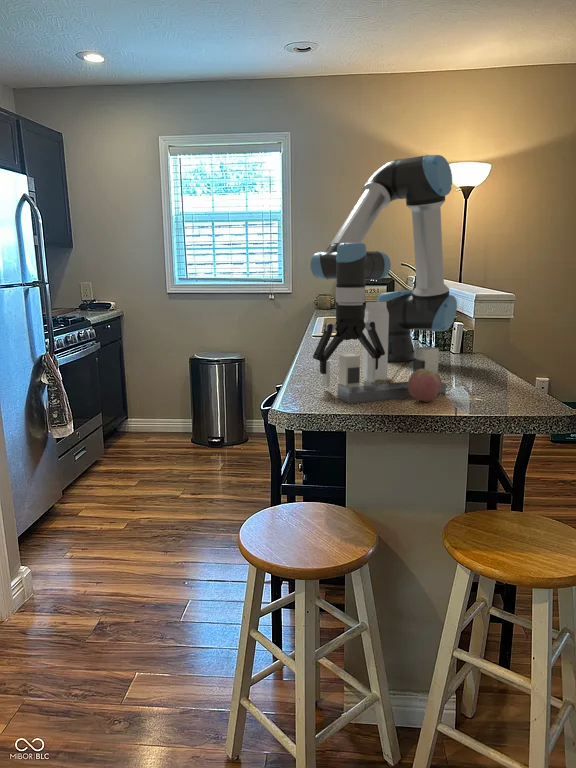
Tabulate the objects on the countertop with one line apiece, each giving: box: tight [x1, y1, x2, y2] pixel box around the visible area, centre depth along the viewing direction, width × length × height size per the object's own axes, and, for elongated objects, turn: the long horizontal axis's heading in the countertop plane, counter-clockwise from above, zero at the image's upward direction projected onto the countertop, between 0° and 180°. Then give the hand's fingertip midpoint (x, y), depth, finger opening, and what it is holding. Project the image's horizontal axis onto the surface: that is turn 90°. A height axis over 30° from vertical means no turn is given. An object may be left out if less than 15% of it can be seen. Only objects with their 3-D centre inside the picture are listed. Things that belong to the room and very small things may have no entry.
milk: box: [361, 301, 389, 381], centre depth 163 cm, size 6×6×22 cm
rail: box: [337, 346, 447, 405], centre depth 142 cm, size 28×6×12 cm, turn 112°
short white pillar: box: [338, 353, 361, 387], centre depth 151 cm, size 5×4×9 cm
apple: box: [407, 369, 442, 403], centre depth 136 cm, size 8×8×8 cm
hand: (349, 383), depth 152 cm, fingers open, 13 cm apart
